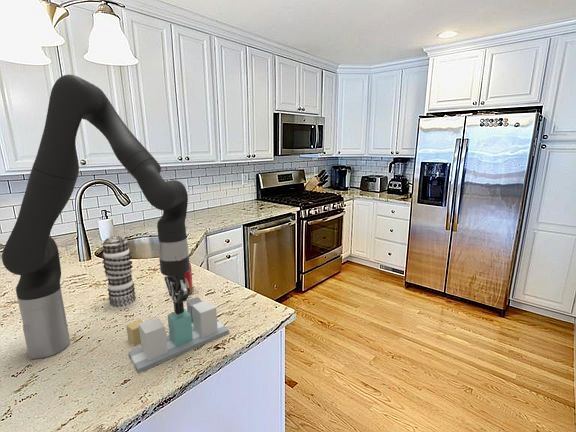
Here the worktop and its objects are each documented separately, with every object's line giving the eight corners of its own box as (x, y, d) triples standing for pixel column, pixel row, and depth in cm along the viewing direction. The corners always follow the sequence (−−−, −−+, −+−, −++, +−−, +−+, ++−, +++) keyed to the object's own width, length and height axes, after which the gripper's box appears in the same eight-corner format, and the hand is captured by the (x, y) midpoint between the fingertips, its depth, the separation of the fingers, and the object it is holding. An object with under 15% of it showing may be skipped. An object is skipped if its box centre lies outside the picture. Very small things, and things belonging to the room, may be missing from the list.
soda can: (186, 287, 124) (184, 257, 121) (196, 292, 119) (194, 261, 116) (170, 293, 118) (167, 262, 116) (180, 299, 114) (177, 266, 111)
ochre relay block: (134, 345, 87) (132, 330, 86) (128, 340, 90) (126, 325, 89) (148, 338, 90) (146, 323, 89) (141, 333, 93) (139, 319, 92)
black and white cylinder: (133, 308, 107) (125, 241, 102) (104, 311, 105) (94, 242, 100) (140, 296, 116) (132, 233, 110) (113, 299, 114) (104, 235, 108)
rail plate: (138, 373, 76) (134, 341, 74) (128, 355, 83) (124, 325, 81) (229, 333, 93) (227, 305, 91) (215, 320, 100) (213, 295, 98)
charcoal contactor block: (191, 323, 98) (190, 306, 97) (187, 316, 103) (186, 299, 101) (203, 319, 101) (202, 303, 99) (199, 312, 105) (198, 296, 103)
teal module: (175, 347, 85) (173, 321, 83) (169, 339, 88) (167, 314, 86) (192, 339, 88) (191, 314, 86) (186, 332, 91) (184, 308, 90)
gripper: (151, 251, 85) (157, 308, 88) (169, 265, 75) (175, 328, 79) (178, 246, 89) (182, 299, 93) (197, 258, 80) (202, 317, 84)
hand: (179, 312), depth 86 cm, fingers closed
